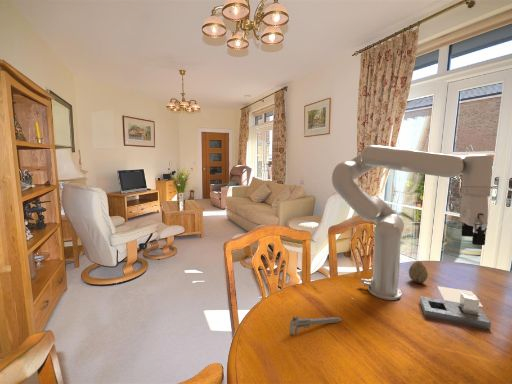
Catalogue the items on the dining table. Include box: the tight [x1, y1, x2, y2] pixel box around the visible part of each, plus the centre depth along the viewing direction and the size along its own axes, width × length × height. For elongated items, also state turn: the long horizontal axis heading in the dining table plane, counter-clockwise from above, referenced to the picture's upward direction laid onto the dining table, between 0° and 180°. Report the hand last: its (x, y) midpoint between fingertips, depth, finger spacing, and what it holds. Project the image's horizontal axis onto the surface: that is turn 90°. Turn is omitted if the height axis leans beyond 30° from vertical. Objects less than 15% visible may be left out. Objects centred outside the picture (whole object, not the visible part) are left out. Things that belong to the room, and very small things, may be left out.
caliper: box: [289, 315, 343, 336], centre depth 87 cm, size 20×1×6 cm, turn 112°
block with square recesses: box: [419, 295, 492, 331], centre depth 92 cm, size 18×10×3 cm, turn 67°
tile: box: [436, 285, 484, 308], centre depth 104 cm, size 12×12×1 cm
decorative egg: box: [408, 260, 429, 284], centre depth 116 cm, size 7×7×10 cm
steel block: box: [459, 292, 480, 316], centre depth 90 cm, size 4×4×8 cm
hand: (472, 240), depth 90 cm, fingers open, 9 cm apart
